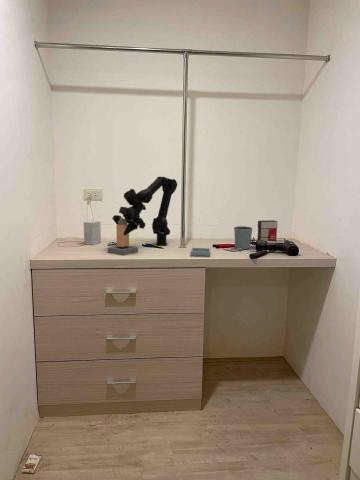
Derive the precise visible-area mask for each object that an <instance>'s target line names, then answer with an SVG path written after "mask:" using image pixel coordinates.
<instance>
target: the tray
mask: <svg viewBox="0 0 360 480" xmlns="http://www.w3.org/2000/svg"><path fill="white" fill-rule="evenodd" d="M211 249H212V248H210V247H209V248H208V247H207V248H206V247H191V249H190V257H200V258H201V257H203V258H211Z"/></svg>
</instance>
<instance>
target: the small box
mask: <svg viewBox="0 0 360 480" xmlns="http://www.w3.org/2000/svg"><path fill="white" fill-rule="evenodd" d="M101 226H102V224H101V221H100V220H87V221H83V244H84V245H87V246H88V245H89V246H94V245H99V244H101V243H102V236H101V235H102V234H101V233H102V232H101V231H102V230H101Z"/></svg>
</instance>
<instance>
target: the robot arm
mask: <svg viewBox="0 0 360 480" xmlns="http://www.w3.org/2000/svg"><path fill="white" fill-rule="evenodd" d="M177 187H178V182H177V180H176V179H174V178H173V179H172V178H168V177H165V176H157V177H156V179H155V180H154V181H153V182H152V183H151V184H149V186H147V187H146V188H145V189H141V190H140V191H138V192H136V191H135V189H134V188H130V189H129V190H127V191H126V192H125V193H124V194H123V198H124V200H125V201H126V202H127V204H128V205H129V207H127V206H120V207H119V211H118V213H119V214H120V215H115V214H114V215H113V217H112V218H111V219H112V220H113V221H114V223H115V224H116V225H118V221H120V220H126V221H127V224H128V226H127V228H126V230H125V232H124V235H127V234H128V233H129V234H130V233H132V232H133V231H135V230H138V229H144V230H145V228H146V223H145V221H144V220H143V218H142V217H141V213H142V211H146V210H147V208H146V205H145V204H149V203H150V202H151V200H152V199H153V195H155V193H156V192H157V191H158V190H159V189H162V191H163V192H162V193H163V194H162V198H161V201H160V207H159V209H158V214H157V216H156V217H154V218H153V219H152V223H151V228H152V232H153V234H154V235H155V234H156V243H155V246H167V245H168V242H167V236H169V235H170V234H171V230H170V228H169V227H168V219H167V216H168V213H169V207H170V203H171V199H172V195H173V194H174V193H175V192H176V190H177ZM121 215H122V216H121Z"/></svg>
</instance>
